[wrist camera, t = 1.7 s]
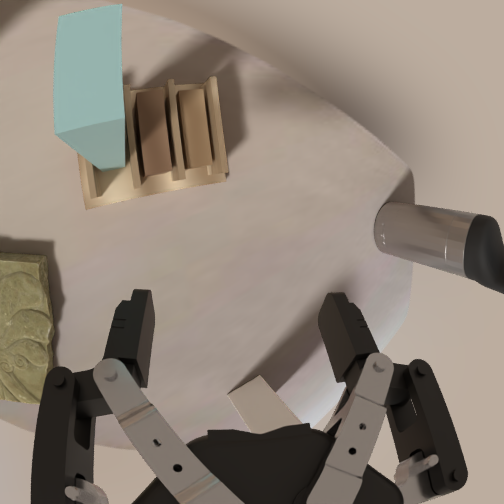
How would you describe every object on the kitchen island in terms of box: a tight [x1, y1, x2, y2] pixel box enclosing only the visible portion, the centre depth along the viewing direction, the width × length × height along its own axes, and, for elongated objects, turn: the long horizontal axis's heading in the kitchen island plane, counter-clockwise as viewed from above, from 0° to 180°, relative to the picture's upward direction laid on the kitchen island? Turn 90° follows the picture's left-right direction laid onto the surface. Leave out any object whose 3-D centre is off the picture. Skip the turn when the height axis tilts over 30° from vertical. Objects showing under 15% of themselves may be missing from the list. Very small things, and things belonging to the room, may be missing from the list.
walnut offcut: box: [134, 89, 172, 178], centre depth 26 cm, size 2×8×5 cm, turn 8°
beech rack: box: [77, 76, 228, 210], centre depth 26 cm, size 16×12×6 cm
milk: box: [227, 375, 303, 434], centre depth 32 cm, size 6×6×22 cm
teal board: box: [53, 4, 125, 172], centre depth 17 cm, size 2×5×22 cm, turn 8°
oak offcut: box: [176, 89, 213, 170], centre depth 28 cm, size 2×8×4 cm, turn 8°
